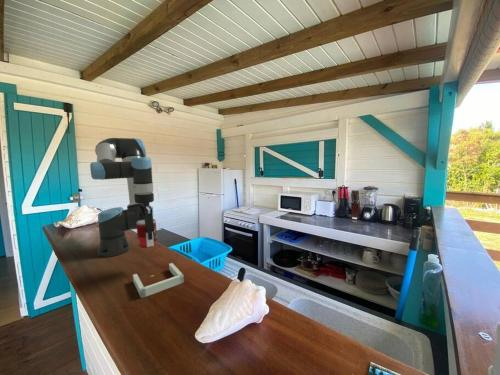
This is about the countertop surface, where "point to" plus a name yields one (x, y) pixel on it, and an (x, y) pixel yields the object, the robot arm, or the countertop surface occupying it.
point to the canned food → (142, 235)
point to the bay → (160, 285)
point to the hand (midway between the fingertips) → (147, 242)
